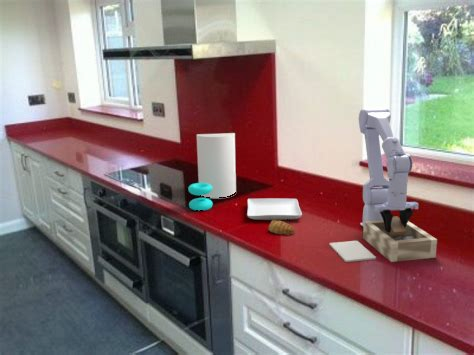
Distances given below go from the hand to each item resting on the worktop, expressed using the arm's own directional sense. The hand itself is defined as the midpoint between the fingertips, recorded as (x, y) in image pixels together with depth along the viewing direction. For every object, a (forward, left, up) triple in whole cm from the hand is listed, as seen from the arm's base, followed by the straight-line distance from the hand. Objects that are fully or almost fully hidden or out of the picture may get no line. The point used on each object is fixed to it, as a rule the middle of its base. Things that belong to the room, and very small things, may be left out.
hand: (394, 230), depth 158 cm
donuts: (-55, -59, -5) cm, 81 cm away
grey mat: (+2, -16, -5) cm, 17 cm away
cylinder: (-75, -49, -5) cm, 89 cm away
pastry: (-21, -33, -5) cm, 40 cm away
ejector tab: (+2, 0, -1) cm, 3 cm away
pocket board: (+3, 0, -5) cm, 6 cm away
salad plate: (-41, -31, -6) cm, 51 cm away
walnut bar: (0, 0, +1) cm, 1 cm away
